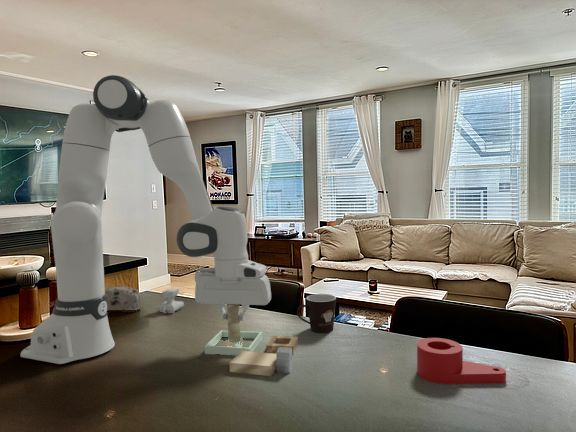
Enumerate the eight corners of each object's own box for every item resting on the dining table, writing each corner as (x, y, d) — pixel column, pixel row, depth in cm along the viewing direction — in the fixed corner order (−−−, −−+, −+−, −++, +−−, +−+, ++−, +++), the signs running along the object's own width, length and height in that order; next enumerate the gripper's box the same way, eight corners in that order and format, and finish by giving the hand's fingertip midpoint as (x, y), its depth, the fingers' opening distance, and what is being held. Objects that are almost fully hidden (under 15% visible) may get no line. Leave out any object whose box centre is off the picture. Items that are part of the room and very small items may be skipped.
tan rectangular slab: (230, 375, 96) (229, 362, 96) (241, 362, 103) (240, 350, 103) (271, 379, 93) (271, 366, 93) (280, 366, 100) (280, 354, 100)
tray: (205, 355, 107) (204, 346, 106) (221, 339, 118) (221, 330, 118) (250, 358, 104) (250, 348, 104) (262, 340, 116) (262, 331, 116)
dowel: (226, 342, 110) (225, 305, 109) (230, 338, 113) (229, 301, 112) (238, 343, 109) (236, 305, 109) (242, 338, 113) (240, 302, 112)
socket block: (266, 355, 106) (266, 345, 106) (272, 344, 113) (272, 335, 113) (293, 356, 105) (293, 346, 105) (298, 345, 112) (298, 336, 111)
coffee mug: (334, 326, 127) (333, 293, 126) (338, 336, 118) (338, 301, 117) (296, 327, 126) (295, 294, 126) (297, 337, 118) (296, 302, 117)
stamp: (169, 309, 149) (168, 286, 149) (186, 310, 147) (185, 287, 147) (155, 317, 141) (153, 292, 140) (172, 318, 139) (171, 293, 138)
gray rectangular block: (277, 373, 95) (276, 352, 95) (279, 367, 98) (279, 347, 98) (289, 374, 95) (289, 352, 94) (292, 368, 98) (291, 347, 97)
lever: (417, 382, 89) (417, 351, 89) (416, 364, 98) (416, 336, 98) (511, 391, 85) (511, 359, 84) (501, 371, 94) (501, 342, 93)
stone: (98, 312, 144) (103, 284, 144) (109, 308, 150) (114, 281, 149) (131, 322, 141) (137, 293, 141) (141, 318, 147) (146, 290, 146)
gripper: (189, 270, 109) (191, 322, 110) (266, 271, 105) (267, 325, 106) (199, 265, 115) (201, 315, 116) (271, 266, 111) (273, 317, 112)
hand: (233, 320), depth 111 cm, fingers closed on dowel, 3 cm apart
